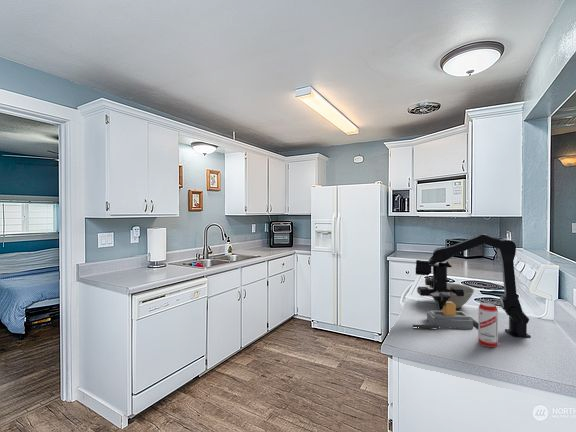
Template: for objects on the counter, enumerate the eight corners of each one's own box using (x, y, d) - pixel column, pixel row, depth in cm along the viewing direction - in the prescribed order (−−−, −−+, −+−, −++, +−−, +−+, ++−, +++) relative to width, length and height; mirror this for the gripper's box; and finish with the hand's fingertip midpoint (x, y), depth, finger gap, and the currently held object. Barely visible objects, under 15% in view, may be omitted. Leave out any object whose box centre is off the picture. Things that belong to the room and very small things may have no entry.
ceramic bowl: (470, 302, 165) (470, 284, 165) (477, 316, 144) (477, 296, 144) (426, 297, 175) (426, 280, 174) (426, 310, 154) (426, 291, 153)
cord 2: (482, 329, 130) (482, 325, 130) (478, 328, 131) (478, 325, 131) (470, 319, 141) (470, 316, 141) (466, 319, 141) (467, 316, 141)
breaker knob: (455, 317, 135) (455, 304, 134) (446, 316, 135) (446, 303, 135) (452, 313, 138) (452, 301, 138) (442, 313, 139) (442, 301, 139)
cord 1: (439, 329, 131) (439, 326, 130) (413, 329, 132) (413, 325, 132) (438, 328, 132) (438, 324, 132) (412, 327, 133) (412, 324, 133)
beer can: (479, 339, 121) (479, 300, 120) (498, 344, 117) (498, 303, 116) (477, 345, 116) (477, 304, 115) (496, 350, 112) (497, 308, 111)
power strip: (473, 328, 131) (473, 318, 131) (434, 327, 133) (434, 317, 133) (462, 319, 141) (462, 310, 141) (427, 318, 143) (427, 309, 143)
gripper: (454, 272, 143) (454, 304, 144) (413, 272, 146) (413, 303, 146) (464, 277, 132) (465, 312, 133) (420, 277, 135) (421, 312, 135)
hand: (440, 309), depth 137 cm, fingers closed
